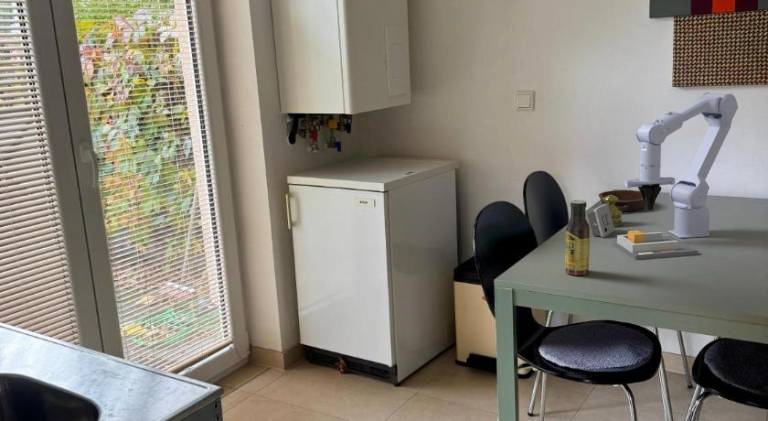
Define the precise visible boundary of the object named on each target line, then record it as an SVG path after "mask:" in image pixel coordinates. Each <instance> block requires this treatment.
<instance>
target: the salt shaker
mask: <svg viewBox="0 0 768 421" xmlns="http://www.w3.org/2000/svg"><path fill="white" fill-rule="evenodd" d="M603 201H605V203H606V204H608V207H609V211H610V214H611V218H612V221H613V225H614V228H618V227H621V226H622V224H623V222H622V221H623V218H622V215H623V211H622V212H621V211H620V210H619V209H618V208H617V207H616V206H615V203H616V202H617V201H618V198H617V197H615V196H613V195H608V196H606V197H604V198H603Z"/></svg>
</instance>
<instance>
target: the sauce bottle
mask: <svg viewBox="0 0 768 421" xmlns="http://www.w3.org/2000/svg"><path fill="white" fill-rule="evenodd" d="M569 205H570V206H569V207H570V218H569V220H568V222H567V225H566V228H565V243H564V245H565V247H564V248H565V249H564V250H565V251H564V254H565V255H564V257H565V258H564V259H565V260H564V267H565V273H567V274H569V275H571V276H585V275H587V274H588V273H589V268H590V248H591V247H590V245H591V244H590V242H591V240H590V238H591V236H590V230H591V227H590V223H589V221H588V220H587V219H586V217H587V214H586V213H587V212H586V210H587V209H586V208H587V201H586V200H585V199H573V200H571V201H570V204H569Z"/></svg>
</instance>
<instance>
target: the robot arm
mask: <svg viewBox="0 0 768 421" xmlns="http://www.w3.org/2000/svg"><path fill="white" fill-rule="evenodd" d="M738 109H739V105H738V101H737V98H736V96H735V95H734V94H732V93H713V92H712V93H711V92H703V93H702V94H701V95H697V97H696V98H695V100H694V101H692V102H690V103H689V104H687V105H686V106H684V107H682V108H680V110H678V111H670V110H667V111H666V112H664V114H663V115H662V116H660V117H659V118H653V120H652V121H651V122H650V123H643V124H641V125H640V126H639V127H638V130H637V133H636V132H635V138H636V140H637V142H638V147H639V150H640V151H639V178H635V179H628V180H626V179H625V180H624V188H626V189H631V188H637V189H638V191H640V193H641V195H642V197H643V200H644V204H645V207H644V209H645V210H646V211H653V209H654V205H655V204H656V203H655V202H656V200H657V198H658V196H659V194H660V193H661V191H662V186H667V185H671V188H670V190H669V199H670V201H672V202H673V206H674V221H673V222H674V224H673V229H669V230H668V233H670V234H672V235H673V236H675V237H677V238H679V239H687V238H688V239H689V238H699V237H700V238H701V237H710V236H711V234H710V233H709V232H710V210H709V209H708V207H707V206H706V205H705V203H706V201H707V198H708V192H709V190H710V185H709V184H708V183H707V181H706V180H707V179H706V178H707V177H708V175H709V174H710V170H711V169H712V167H713V164H714V163H715V161H716V158H717V156H718V154H719V152H720V150H721V149H722V146H723V144H724V142H725V141H726V138H727V136H728V133H729V132H730V130H731V127H732V123H733V119H734V117H735V114H736V113H737V110H738ZM700 114H701V115H702V117H703V118H704V120H705V121H706V123H707V124H708V126H709V127H708V130H707V131H706V133H705V136H704V137H703V140H702V141H701V143H700V145H699V147H698V150H697V152H696V154H695V156H694V159H693V161H692V163H691V165H690V166H689V169H688V171H687V172H686V173H685V174H683V175H681V176H679V177H678V179H677V181H676V178H675V177H673V176H668V177H667V176H666V177H664V176H663V177H661V161H662V160H661V157H662V156H661V155H662V144H663V143H664V142H665V140H666V138H667V137H668V136H669V135H672V134H674V132H676V131H678V130H680V129H681V128H682V127H683V124H684V122H687V121H689V120H690V119H691V120H692V118H694V117H697V116H698V115H700Z"/></svg>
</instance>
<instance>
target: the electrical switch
mask: <svg viewBox="0 0 768 421" xmlns="http://www.w3.org/2000/svg"><path fill="white" fill-rule="evenodd" d="M586 217H587V218H588V224H589V227H590V230H591V233H592V237H599V236H600V237H601V238H602V239H603V238H605V237H606V238H607V237H608V236H609V235H611V234H612V233H614V232H615V227H614V225H613V221H612V218H611V214H610V211H609V207H608V204H603V205H599V206H598V207H595V208H594V209H592V210H590V211H588V212H586Z"/></svg>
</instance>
